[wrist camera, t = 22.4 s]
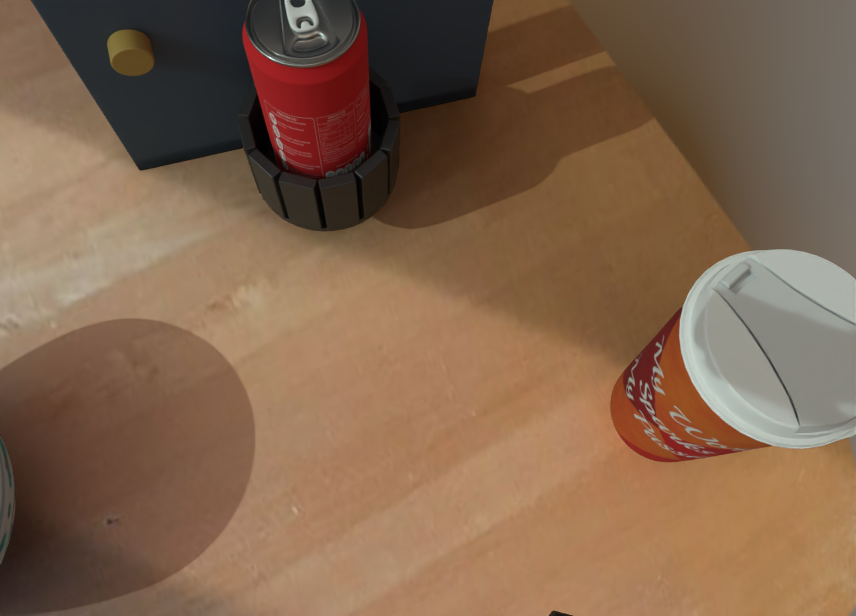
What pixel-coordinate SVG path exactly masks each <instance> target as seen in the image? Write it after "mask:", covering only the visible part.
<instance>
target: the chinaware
mask: <svg viewBox="0 0 856 616" xmlns="http://www.w3.org/2000/svg"><path fill="white" fill-rule="evenodd" d="M15 504H16V494H15V481H14V474H13V469H12V465H11V461H10V458H9V455H8V452H7V449H6V447H5V444H4V442H3V440H2V438H1V436H0V565H1V563H2V560H3V558H4V555H5V553H6V550H7V547H8V544H9V541H10V537H11V533H12V528H13V523H14V516H15Z"/></svg>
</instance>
